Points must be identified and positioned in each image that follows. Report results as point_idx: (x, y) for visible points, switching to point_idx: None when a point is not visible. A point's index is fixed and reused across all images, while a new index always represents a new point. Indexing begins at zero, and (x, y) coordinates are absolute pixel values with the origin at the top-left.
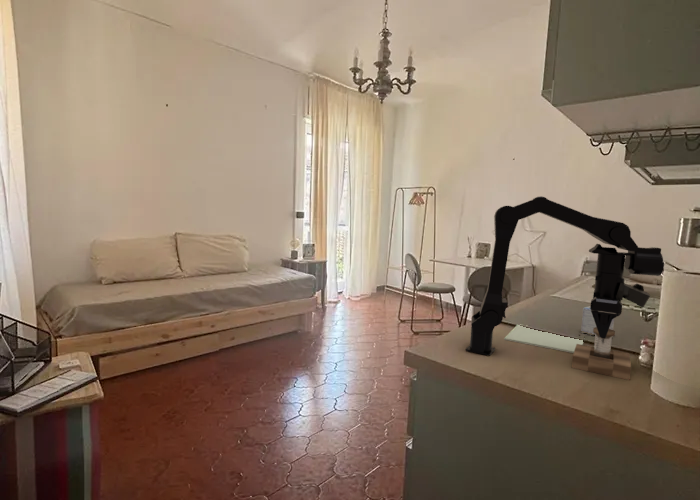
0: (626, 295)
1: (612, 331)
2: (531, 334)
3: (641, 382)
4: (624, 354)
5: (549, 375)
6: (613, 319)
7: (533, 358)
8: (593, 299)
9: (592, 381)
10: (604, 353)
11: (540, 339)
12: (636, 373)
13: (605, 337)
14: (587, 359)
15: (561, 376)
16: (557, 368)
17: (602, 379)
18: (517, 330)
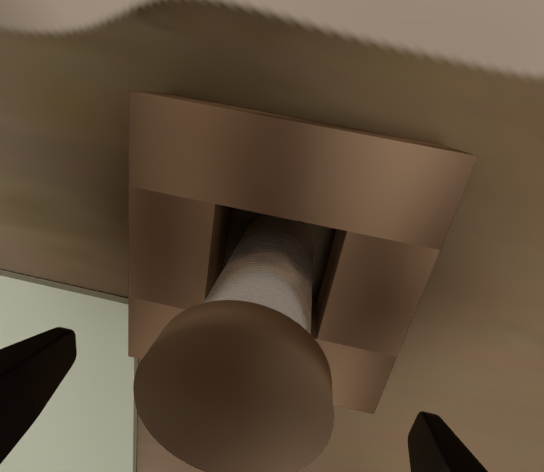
0: None
1: (256, 353)
2: None
3: (463, 86)
4: (174, 132)
5: (503, 453)
6: None
7: (311, 466)
8: None
9: (528, 322)
10: (310, 283)
11: (51, 419)
12: (304, 78)
13: (443, 421)
14: (393, 358)
15: (500, 419)
16: (400, 415)
17: (483, 276)
18: None
